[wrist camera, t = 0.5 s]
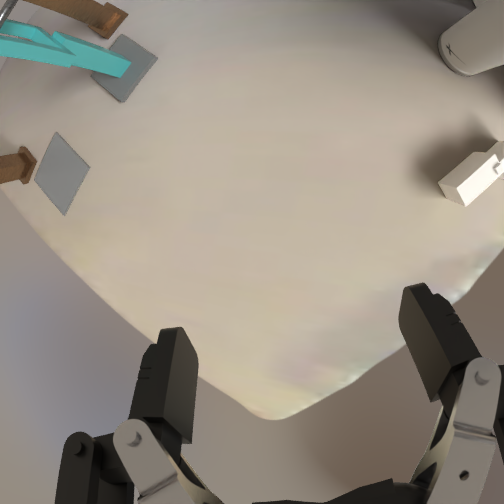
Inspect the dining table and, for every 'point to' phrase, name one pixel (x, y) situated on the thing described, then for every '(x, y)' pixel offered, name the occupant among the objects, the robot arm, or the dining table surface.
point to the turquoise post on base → (81, 55)
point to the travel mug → (475, 40)
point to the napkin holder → (474, 175)
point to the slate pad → (61, 173)
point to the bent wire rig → (99, 19)
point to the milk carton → (478, 2)
